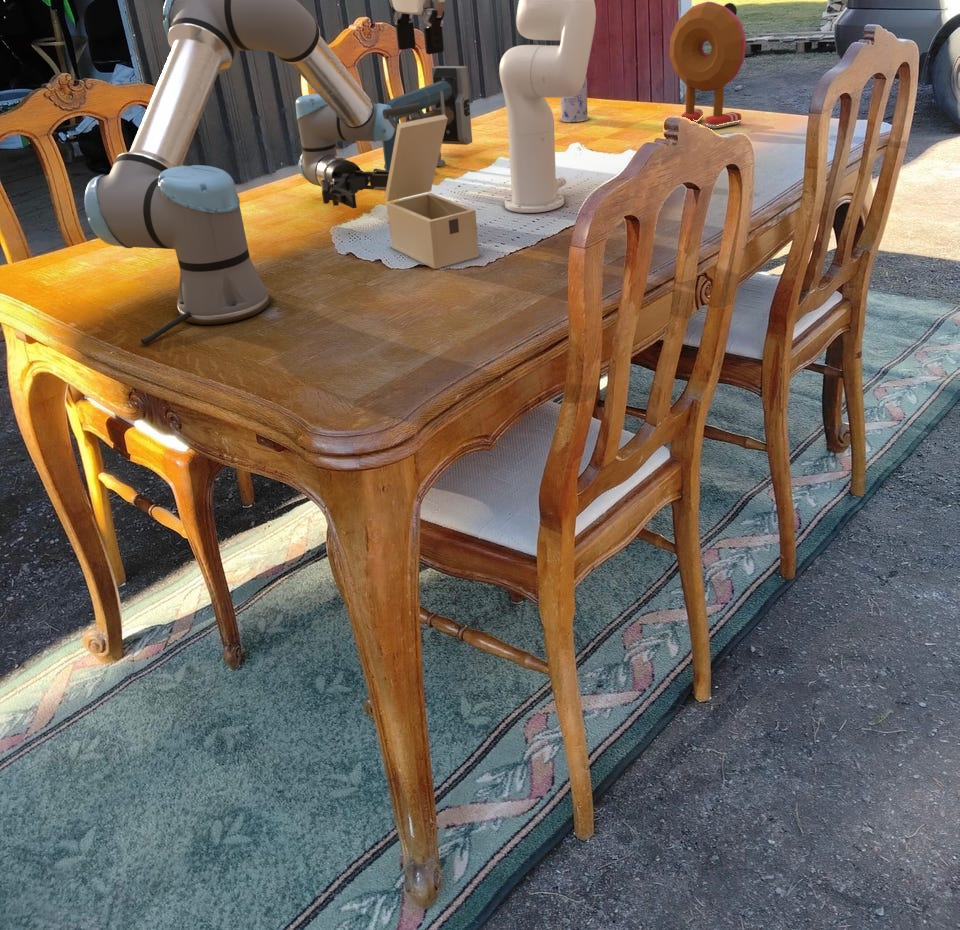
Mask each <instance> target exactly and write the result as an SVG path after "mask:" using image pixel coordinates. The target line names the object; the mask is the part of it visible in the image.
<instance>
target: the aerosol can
mask: <svg viewBox="0 0 960 930" xmlns="http://www.w3.org/2000/svg"><path fill="white" fill-rule="evenodd" d="M560 113H561V115H560V116H561V117H560V121H561V122H563V123H580V122H584V121H587V120H589V116H588V72H587V73H586V77H585V81H584V84H583V87H582V89H581V91H580V92H579V93H578V94H577V95H576V96H574V97H571V98H560Z"/></svg>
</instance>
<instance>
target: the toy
mask: <svg viewBox="0 0 960 930" xmlns="http://www.w3.org/2000/svg"><path fill="white" fill-rule="evenodd" d="M737 12H738V10H737V6H736V5H735V4H734V3H732V2H728V3H726V4H724V5H723V4H719V3H717V2H714V1H705V2H702V3H701V2H700V3H698V4H695V5H693V6H692V7H691V8H689V9H688V10H687V11H686V12H685V13H684V14H683V15H682V16H681V17H679V19H678V20H677V21H676V23H675V26H674V29H673V30H672V32H671V36H670V38H669V59H670V62H671V65H672V68H673V70H674V74H675V75H676V76H677V77H678V78H679V79H680V80H681V81H682V82H683V83H684V85H685V111H684V112H683V113H682V114H681V115H680V116H682V117H686V118H688V119H690V120H691V121H694V120H698V119H699V118H700V117H701V116H702V115H703V117H702V118H701V119H700V120H699V121H697V122H696V121H694V122H696V123H697V124H698V123H699V122H700V121H701V120H702V119H703V118H704V112H703V110H702V109H700V108H695V106H696V90H698V91H699V92H700V91H701V92H712V91H714V92H713V97H714V99H713V109H712V110H713V111H712V112H713V113H712V115H709V116H706V117H705V119H704V127H706V128H709V129H721V128H725V127H730V126H734V125H735V126H736V125H738V124H741V123H742V114H741V113H739V112H735V111H730V112H725V113H723V109H724V94H725V86H726V85H728V84H730V82H732V81H733V80H735V78H736V77H737V76H738V74H739V72H740V70H741V68H742V66H743V63H744V62H745V58H746V49H747V39H746V34H745V31H744V27H743V24H742V22H741V20H740V19H739V17H738V16H737V14H738V13H737ZM706 42H708V43H709V44H710V47H711V48H710V49H711V50H710V52H709V53H706V52H705V51H704V44H705V43H706ZM693 119H694V120H693ZM738 120H741V121H739V122H734V123H729V124H724V125H719V124H723V123H727V122H733V121H738ZM705 123H706V124H708V125H706V124H705ZM710 125H711V126H710ZM713 125H714V126H713ZM716 125H719V126H716Z"/></svg>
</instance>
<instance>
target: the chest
mask: <svg viewBox="0 0 960 930" xmlns="http://www.w3.org/2000/svg"><path fill="white" fill-rule="evenodd" d="M386 210H387V211H386V212H387V217H388V227H389V235H390V241H391V242H390V243H391V248H392V249H394V250H395V251H398V252H400V253H401V254H403V255H406V256H408V257H410V258H412V259H414V260H415V261H418V262H419V263H422V264H423V265H426V266H428V267H429V268H432V269H434V270H437V269H440V268H443V267H447V266H450V265H455V264H458V263H462V262H466V261H469V260H472V259H475V258H479V257H480V253H479V252H480V251H479V239H478V225H477V212H476V209H473V208H470V207H468V206H465V205H462V204H460V203H457V202H455V201H452V200H450V199H447V198H444V197H442V196H439V195H437V194H434V193H431V192H426V193H422V194H418V195H414V196H409V197H405V198H401V199H397V200H393V201H388V202H386Z"/></svg>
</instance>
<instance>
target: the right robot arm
mask: <svg viewBox="0 0 960 930" xmlns="http://www.w3.org/2000/svg"><path fill="white" fill-rule="evenodd" d="M595 2H596V1H595V0H518V2H517V3H518V4H517V10H516V17H515V19H516V20H515V24H516V25H515V26H516V29H517V32H518V33H519V35H520V36H522V37H523V38H525V39H528V40H533V41H560V43H559V45H549V44H548V45H546V44H522V45H515V46H513V47H511V48H509V49H508V50H506V51H505V52H504V54H503V55H502V57H501V59H500V62H499V68H498V69H499V70H498V71H499V73H498V74H499V79H500V84H501V88H502V92H503V97H504V103H505V108H506V110H505V111H506V118H507V119H506V121H507V137H508V153H509V154H508V156H509V173H510V174H509V176H510V188H511V189H510V190H511V192H510V193H511V196H509V197H507V198H506V199H505V200H504V207H505V209H506V210H508V211H510V212H514V213H521V214H536V213H545V212H549V211H553V210H557V209H559V208H561V207H562V206H563V205H564V204H565V198H564V196H563V195H562V194H560V193H559V189H561V188H562V187H565V186H566V184H567V179H566V178H565V177H564V176H561V177H558V178H557V173H556V171H557V170H556V168H557V167H556V143H555V139H556V138H555V118H554V113H553V111H552V109H551V106H550V104H549V103H548V101H547V99H546V98H551V99H552V98H553V99H556V98H557V99H561V98H571V97H574V96H576V95H577V94H578V93H579V92H580V91H581V89H582V87H583V84H584V81H585V77H586V73H587V74H588V68H589V62H590V57H591V51H592V46H593V40H594V36H595V35H594V34H595V30H596V29H595V28H596V21H597V9H596V3H595ZM445 4H446V0H389V5H390V7H391V13H392V16H393V23H394V25H395V31H396V32H395V33H396V42H397V49H398V50H400V51H403V50H410V49H415V48H416V46H417V45H416V37H415V26H414V22H412V18H413V15H414V16H420V17H421V19H422V22H423V24H424V25H425V27H423V35H424V36H423V38H424V50H425V54H426V55H434V54H435V55H436V54H441V53H444V51H445V47H444V35H443V26H444V20H443V19H444V17H445Z"/></svg>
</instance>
